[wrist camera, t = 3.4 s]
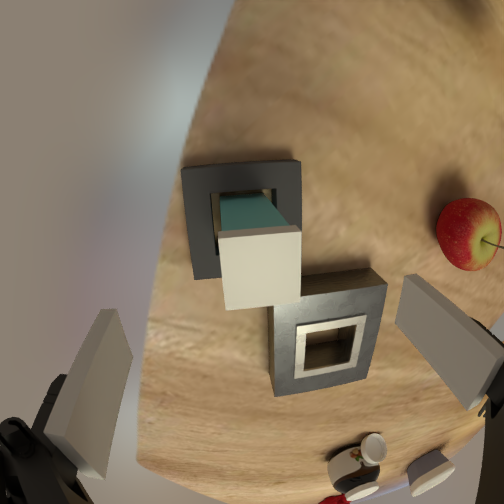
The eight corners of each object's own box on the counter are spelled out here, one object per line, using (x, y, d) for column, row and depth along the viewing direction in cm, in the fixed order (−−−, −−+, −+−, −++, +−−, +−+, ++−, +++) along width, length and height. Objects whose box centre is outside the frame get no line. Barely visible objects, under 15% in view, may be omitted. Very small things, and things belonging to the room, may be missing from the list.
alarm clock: (316, 516, 63) (328, 513, 55) (313, 501, 69) (325, 496, 60) (345, 509, 65) (361, 504, 56) (341, 494, 70) (357, 488, 61)
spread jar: (321, 464, 50) (334, 506, 39) (332, 440, 45) (350, 488, 35) (369, 452, 51) (386, 489, 40) (385, 426, 47) (407, 468, 36)
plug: (217, 194, 26) (218, 238, 15) (265, 190, 27) (301, 231, 15) (221, 239, 28) (225, 310, 17) (266, 235, 28) (300, 302, 17)
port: (266, 279, 30) (274, 301, 26) (370, 267, 31) (389, 285, 27) (269, 374, 35) (275, 398, 32) (355, 358, 37) (366, 379, 33)
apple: (463, 248, 32) (513, 279, 23) (420, 257, 32) (472, 296, 23) (470, 189, 29) (526, 211, 20) (425, 191, 29) (487, 216, 19)
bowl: (434, 458, 67) (446, 479, 57) (397, 477, 67) (408, 500, 56) (446, 440, 61) (460, 463, 51) (407, 461, 61) (420, 487, 50)
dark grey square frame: (183, 167, 25) (180, 170, 23) (293, 159, 26) (301, 161, 24) (195, 268, 29) (194, 280, 27) (295, 259, 30) (301, 269, 27)
